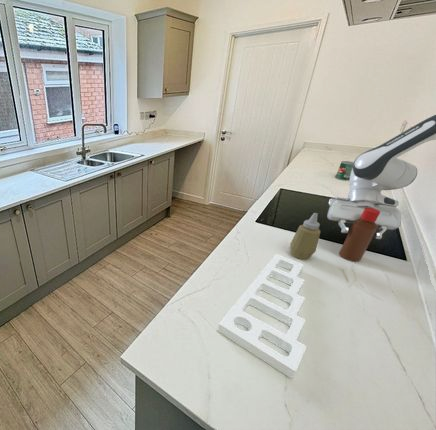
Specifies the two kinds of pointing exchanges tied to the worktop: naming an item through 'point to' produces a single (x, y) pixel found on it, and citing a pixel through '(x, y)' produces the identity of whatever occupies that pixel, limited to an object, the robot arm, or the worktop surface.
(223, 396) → the worktop surface
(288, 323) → the holder
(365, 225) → the bottle
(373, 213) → the cap
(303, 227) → the squeeze bottle
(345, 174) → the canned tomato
